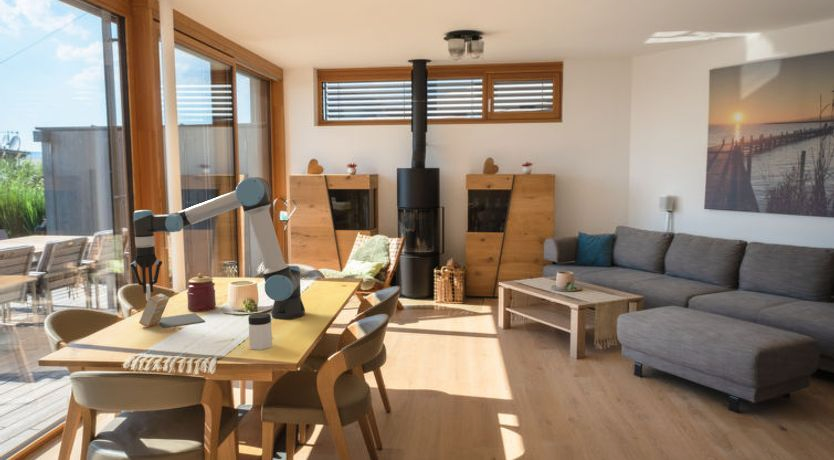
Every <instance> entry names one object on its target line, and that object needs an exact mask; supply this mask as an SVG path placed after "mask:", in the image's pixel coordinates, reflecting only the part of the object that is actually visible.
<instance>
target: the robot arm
mask: <svg viewBox="0 0 834 460" xmlns="http://www.w3.org/2000/svg"><path fill="white" fill-rule="evenodd" d="M271 194H272V188H271V186H270V183H269V182H268V181H267V180H266V179H264V178H262V177H258V176H257V177H256V176H255V177H251V176H250V177H246V178H244V179H242V180H241V181H239V182H238V184H237V186H236V187H235V190H232V191H230V192H227V193H225V194H222V195H219V196H217V197H214V198H212V199H208V200H206V201H203V202H201V203H198V204H195V205H193V206H190V207H188V208H185V209H182V210H179V211H176V212H174V213H173V212H171V213H168V214H154V213H153V210H151V209H149V210H148V209H139V210H135V211H134V212H133V221H132V222H133V230H134V244H135V258H134V261H133V262H130V263H129V267H131V269H132V271H133V274H134V276H135V279H136V282H137V284H138V285H139V286H142V292H143V294H145V299H146V300H145V301H147V302H148V299H149V297H151V295H152V293H154V285H155V284H157V283H158V279H159V275H160V274H159V273H160V269H161V266H162V264H163V261H162V260H159V259H157V255H156V250H155V249H156V248H155V247H156V246H155V233H177V232H181V231H182V230H183V229H185V228H187V227H189V226H192V225H194V224H197V223H200V222H203V221H205V220H208V219H211V218H213V217H215V216H220V215H221V214H224V213H227V212H229V211H232V210H235V209H238V208H240V207H242V210H243V213H245V214H246V215H248V217H249V220H250V223H251V226H252V227H251V228H252V229H253V233H254V236H255V239H256V244H257V246H258V249H259V255H260V256H261V259H262V263H263V266H264V270H263V272H262V275H263V280H264V292H265V294H266V295H267V297H268V298H269V299H271V300H273V301H274V302H273V304H272V308H271V314H270V315H271V318H274V319H279V320H289V319H296V318H297V319H298V318H301V317H304V316H305V315H306V309H305V306H304V303H303V300H302V297H301V271H300V270H301V269H300V267H299V265H289V264H288V263H286V262H285V259H284V256H283V254H282V250H281V249H282V248H281V245H280V243H279V240H278V239H279V238H278V236H277V233H276V231H275V230H276V229H275V227H274V224H273V219H272V215H271V212H270V208H271V206H272V204H271V200H270V197H271ZM154 264H155V270H154V275H153V266H154ZM137 265H138V266H139V267H140V269H141V277H140V275H139V271H138V269H137ZM146 269H147V275H148V278H147V275H146ZM147 279H148V280H147ZM147 281H148V284H147Z"/></svg>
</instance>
